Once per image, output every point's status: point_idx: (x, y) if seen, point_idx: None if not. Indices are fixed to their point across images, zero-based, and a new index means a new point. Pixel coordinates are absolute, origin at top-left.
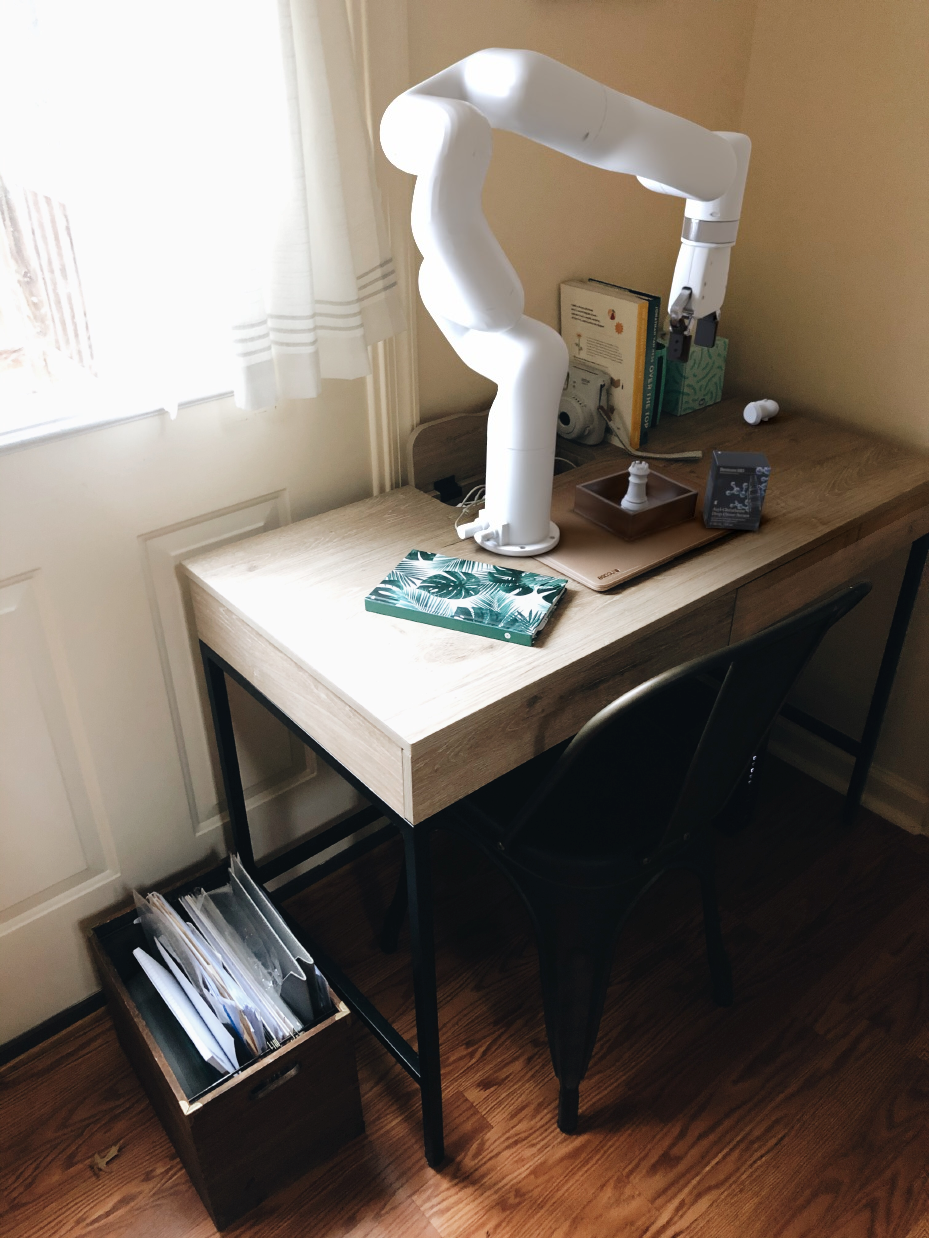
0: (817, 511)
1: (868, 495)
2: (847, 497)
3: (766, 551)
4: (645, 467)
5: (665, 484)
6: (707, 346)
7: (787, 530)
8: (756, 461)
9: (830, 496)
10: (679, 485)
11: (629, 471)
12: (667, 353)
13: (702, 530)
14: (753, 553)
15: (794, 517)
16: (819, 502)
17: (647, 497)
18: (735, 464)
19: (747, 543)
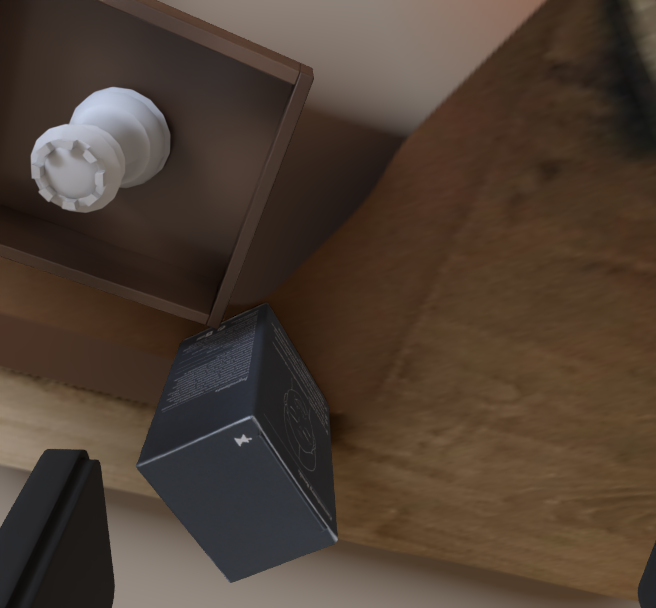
0: (443, 508)
1: (591, 565)
2: (559, 536)
3: None
4: (64, 203)
5: (251, 201)
6: (647, 570)
7: None
8: (245, 546)
9: (547, 509)
10: (230, 262)
11: (37, 140)
12: (27, 484)
13: (166, 335)
14: (133, 463)
15: (380, 479)
16: (498, 500)
17: (256, 128)
18: (176, 507)
19: None
